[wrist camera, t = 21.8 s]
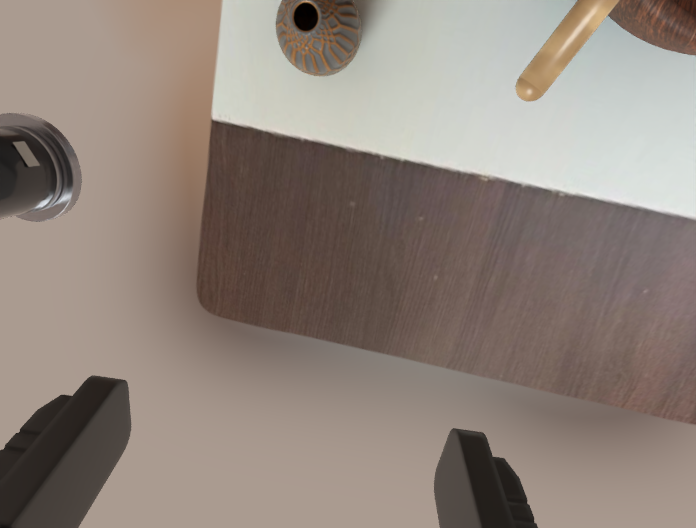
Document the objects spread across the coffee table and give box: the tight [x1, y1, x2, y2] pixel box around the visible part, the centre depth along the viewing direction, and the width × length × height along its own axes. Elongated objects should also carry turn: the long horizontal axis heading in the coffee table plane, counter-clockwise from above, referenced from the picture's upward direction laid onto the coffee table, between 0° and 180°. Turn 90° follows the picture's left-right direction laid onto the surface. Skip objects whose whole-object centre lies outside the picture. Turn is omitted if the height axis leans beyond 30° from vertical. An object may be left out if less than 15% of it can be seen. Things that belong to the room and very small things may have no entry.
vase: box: [276, 0, 361, 76], centre depth 35 cm, size 7×7×9 cm
